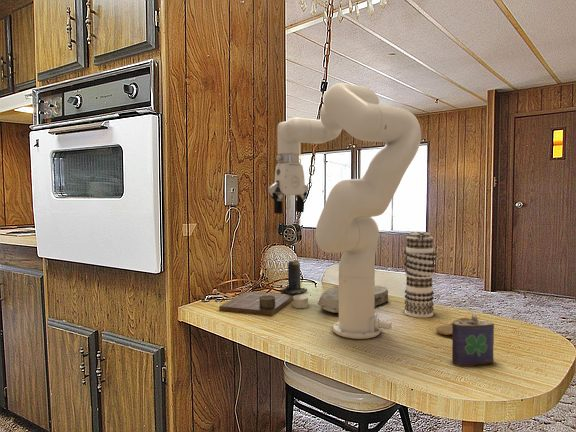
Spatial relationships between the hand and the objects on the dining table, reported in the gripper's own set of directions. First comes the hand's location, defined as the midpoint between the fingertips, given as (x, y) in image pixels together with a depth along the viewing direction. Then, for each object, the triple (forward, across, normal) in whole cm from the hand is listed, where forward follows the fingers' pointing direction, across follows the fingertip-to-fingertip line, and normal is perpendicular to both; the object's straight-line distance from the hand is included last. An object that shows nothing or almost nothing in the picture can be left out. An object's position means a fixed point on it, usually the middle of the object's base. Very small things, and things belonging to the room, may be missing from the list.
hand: (289, 212), depth 136 cm
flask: (+30, -4, -62) cm, 69 cm away
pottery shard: (+30, +12, -52) cm, 62 cm away
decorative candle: (+31, +21, -36) cm, 51 cm away
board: (+31, -8, +7) cm, 33 cm away
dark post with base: (+31, +13, +10) cm, 35 cm away
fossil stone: (+31, +14, -16) cm, 37 cm away
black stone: (+29, -10, -1) cm, 31 cm away
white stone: (+31, +1, -4) cm, 31 cm away
